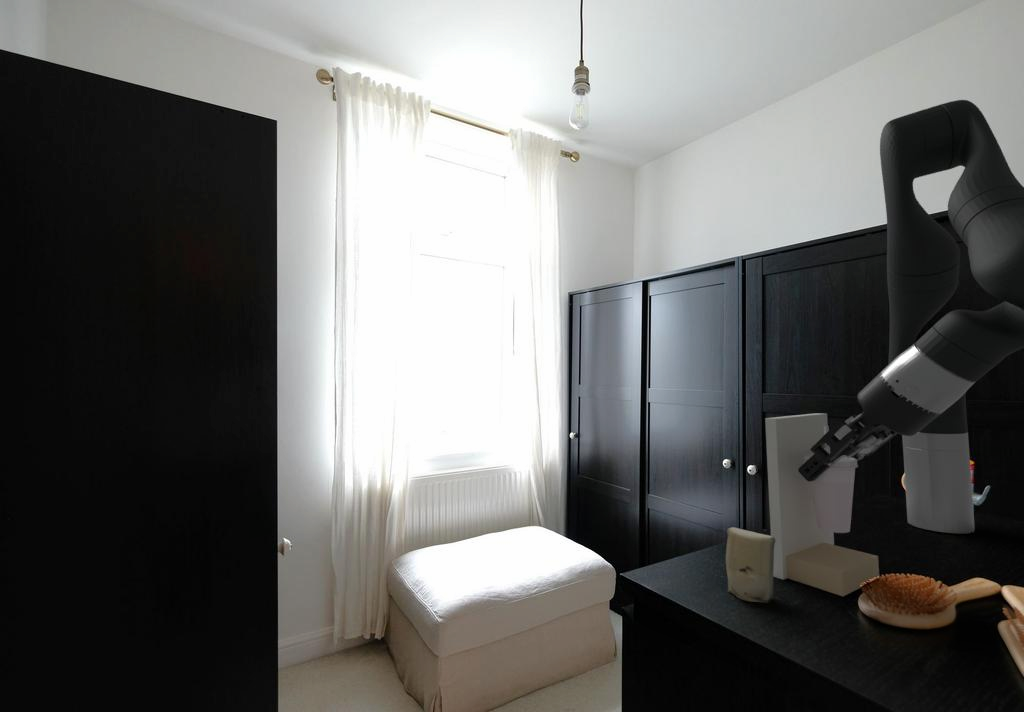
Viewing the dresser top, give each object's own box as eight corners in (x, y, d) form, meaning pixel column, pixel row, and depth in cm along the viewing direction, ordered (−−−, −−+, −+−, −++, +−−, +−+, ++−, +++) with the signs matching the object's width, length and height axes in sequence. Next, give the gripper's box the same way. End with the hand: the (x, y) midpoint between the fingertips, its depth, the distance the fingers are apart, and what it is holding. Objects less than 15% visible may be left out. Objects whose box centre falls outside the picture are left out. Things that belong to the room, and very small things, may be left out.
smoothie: (851, 523, 70) (845, 424, 71) (870, 537, 63) (863, 428, 64) (800, 521, 71) (795, 424, 72) (815, 534, 65) (809, 428, 66)
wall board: (824, 555, 76) (816, 413, 77) (889, 573, 69) (879, 415, 70) (772, 576, 69) (765, 418, 70) (839, 598, 61) (829, 421, 63)
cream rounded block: (769, 588, 65) (766, 526, 65) (784, 606, 60) (780, 539, 60) (723, 586, 66) (721, 525, 66) (733, 603, 61) (730, 537, 61)
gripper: (910, 368, 66) (822, 448, 76) (859, 368, 59) (768, 457, 68) (964, 409, 61) (863, 489, 71) (916, 414, 54) (810, 503, 63)
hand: (817, 473), depth 69 cm, fingers closed on smoothie, 6 cm apart
